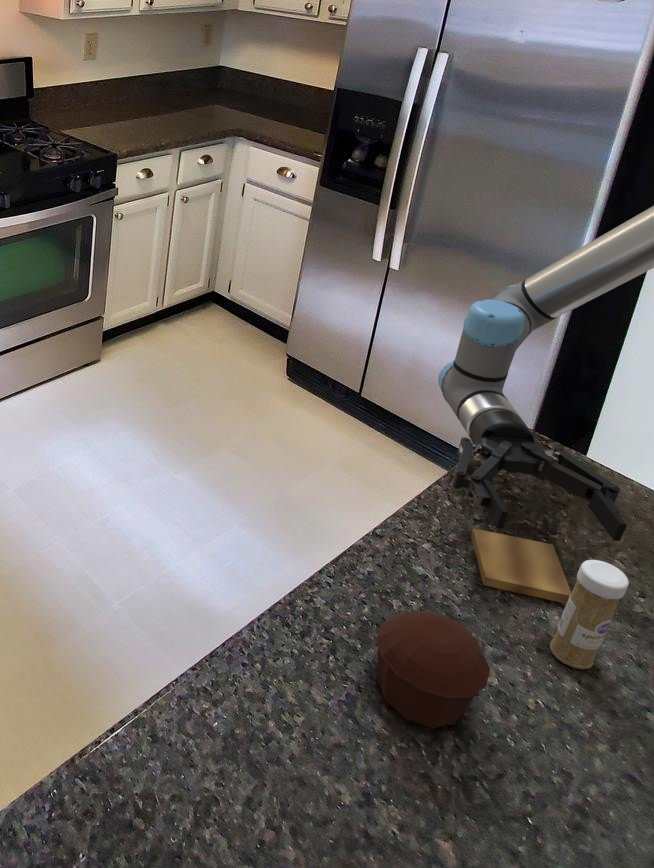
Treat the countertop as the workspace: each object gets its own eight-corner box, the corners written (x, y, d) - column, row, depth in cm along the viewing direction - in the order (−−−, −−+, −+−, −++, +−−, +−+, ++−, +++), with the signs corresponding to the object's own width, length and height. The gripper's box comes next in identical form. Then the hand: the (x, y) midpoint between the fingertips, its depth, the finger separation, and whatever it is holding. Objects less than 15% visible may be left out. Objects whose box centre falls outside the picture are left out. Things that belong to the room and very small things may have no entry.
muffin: (429, 756, 86) (451, 692, 81) (344, 678, 95) (360, 617, 90) (496, 708, 91) (520, 646, 87) (409, 638, 100) (427, 579, 95)
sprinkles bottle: (581, 677, 94) (618, 593, 89) (541, 649, 98) (573, 567, 92) (600, 660, 97) (637, 577, 91) (560, 633, 100) (593, 552, 94)
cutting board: (550, 552, 113) (553, 544, 112) (569, 604, 104) (572, 596, 104) (470, 535, 116) (473, 528, 115) (483, 585, 107) (485, 577, 107)
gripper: (579, 457, 119) (660, 560, 101) (402, 441, 123) (448, 537, 105) (595, 416, 116) (681, 514, 97) (412, 400, 120) (462, 492, 101)
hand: (560, 526), depth 101 cm, fingers open, 13 cm apart
